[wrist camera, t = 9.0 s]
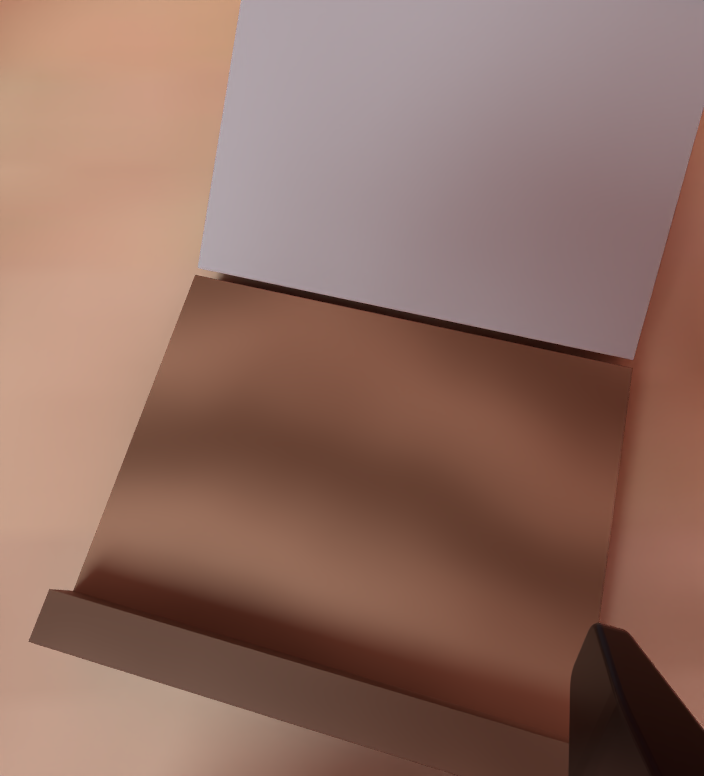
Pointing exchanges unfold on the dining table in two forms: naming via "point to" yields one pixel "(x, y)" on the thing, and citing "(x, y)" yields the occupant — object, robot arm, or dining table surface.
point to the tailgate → (461, 157)
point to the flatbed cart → (359, 529)
